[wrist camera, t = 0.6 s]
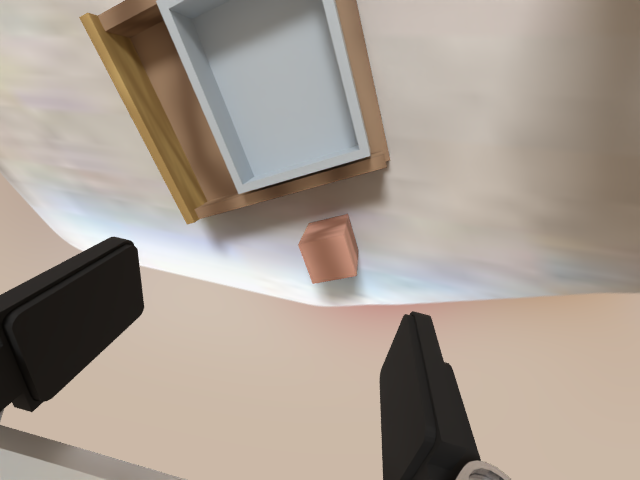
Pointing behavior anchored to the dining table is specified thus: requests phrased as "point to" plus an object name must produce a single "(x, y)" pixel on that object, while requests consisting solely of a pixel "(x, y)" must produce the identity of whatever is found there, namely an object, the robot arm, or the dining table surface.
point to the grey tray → (271, 84)
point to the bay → (188, 117)
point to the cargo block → (329, 249)
